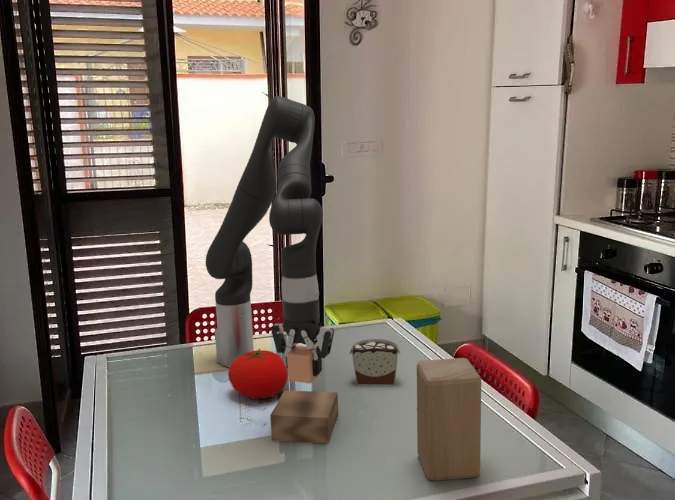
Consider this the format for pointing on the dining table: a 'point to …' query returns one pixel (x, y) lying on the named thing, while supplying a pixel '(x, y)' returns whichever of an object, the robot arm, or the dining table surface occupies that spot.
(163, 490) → the dining table surface
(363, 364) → the food container
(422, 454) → the wooden block
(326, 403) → the walnut block
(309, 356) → the terracotta block
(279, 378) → the tomato
